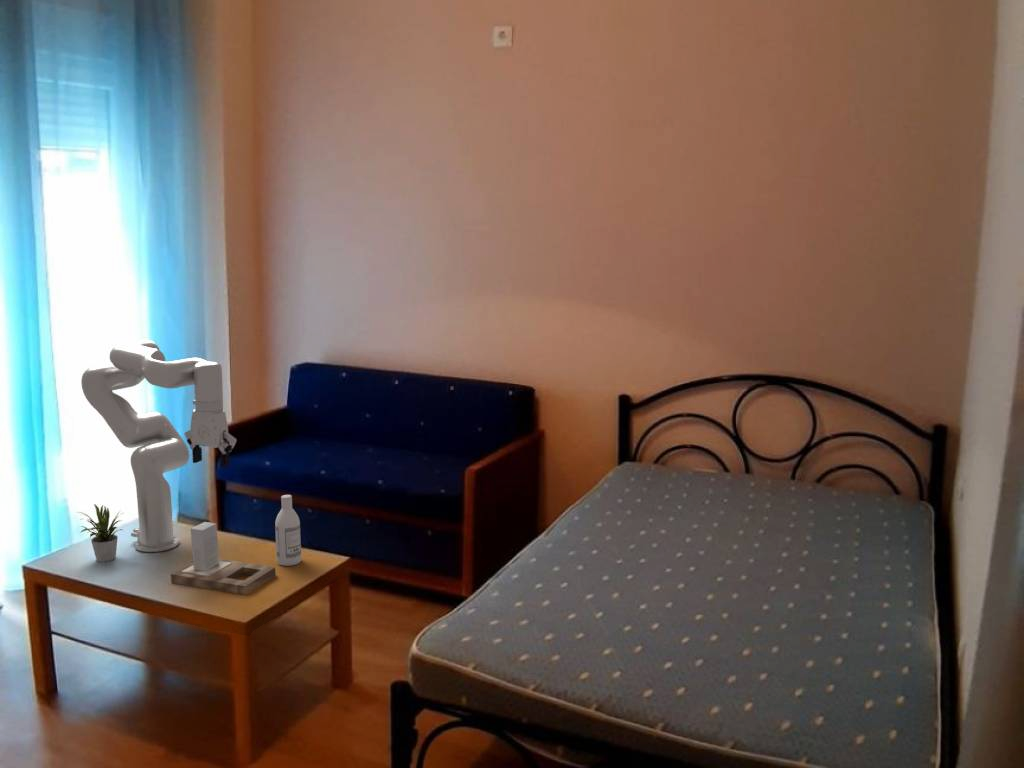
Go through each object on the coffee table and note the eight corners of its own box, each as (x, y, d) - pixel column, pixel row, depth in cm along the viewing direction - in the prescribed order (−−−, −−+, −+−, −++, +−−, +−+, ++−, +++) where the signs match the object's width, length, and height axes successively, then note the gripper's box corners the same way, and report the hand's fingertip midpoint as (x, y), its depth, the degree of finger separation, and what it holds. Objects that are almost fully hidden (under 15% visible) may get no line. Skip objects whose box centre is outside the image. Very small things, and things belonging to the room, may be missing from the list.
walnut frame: (171, 582, 254) (170, 573, 253) (203, 564, 267) (203, 555, 266) (245, 595, 246) (245, 585, 246) (275, 575, 259) (275, 566, 259)
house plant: (68, 557, 271) (63, 504, 268) (116, 545, 281) (111, 494, 278) (87, 571, 262) (83, 515, 259) (136, 558, 271) (132, 504, 268)
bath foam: (306, 559, 271) (303, 493, 267) (293, 568, 265) (290, 500, 261) (285, 556, 273) (282, 491, 270) (272, 564, 267) (269, 498, 263)
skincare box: (207, 561, 261) (204, 521, 259) (219, 563, 260) (217, 523, 258) (192, 569, 256) (190, 528, 254) (205, 571, 254) (202, 530, 252)
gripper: (175, 405, 261) (177, 463, 264) (225, 412, 255) (227, 471, 258) (193, 399, 268) (195, 456, 271) (242, 406, 262) (244, 464, 265)
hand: (211, 464), depth 265 cm, fingers open, 9 cm apart
